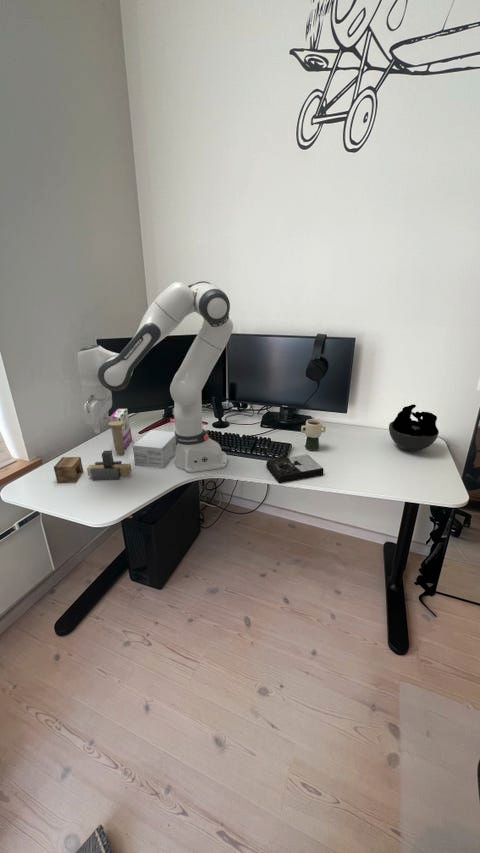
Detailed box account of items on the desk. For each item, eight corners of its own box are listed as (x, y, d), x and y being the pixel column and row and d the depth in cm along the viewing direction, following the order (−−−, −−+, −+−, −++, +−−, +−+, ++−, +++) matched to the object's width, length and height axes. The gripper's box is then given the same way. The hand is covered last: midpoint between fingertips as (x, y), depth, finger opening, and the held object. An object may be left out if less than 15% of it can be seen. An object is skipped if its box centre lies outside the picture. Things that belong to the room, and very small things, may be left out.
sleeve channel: (123, 472, 142) (121, 461, 140) (119, 479, 137) (117, 468, 135) (97, 472, 142) (95, 461, 140) (92, 480, 136) (90, 469, 134)
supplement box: (163, 468, 145) (161, 448, 141) (134, 465, 148) (131, 445, 144) (179, 450, 160) (177, 431, 156) (152, 447, 163) (150, 429, 159)
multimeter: (265, 468, 145) (266, 457, 143) (307, 461, 150) (308, 450, 148) (278, 484, 133) (279, 473, 131) (323, 476, 139) (324, 465, 137)
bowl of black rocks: (428, 463, 147) (438, 421, 139) (380, 450, 158) (386, 411, 151) (438, 446, 161) (447, 407, 154) (392, 435, 173) (399, 399, 165)
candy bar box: (122, 440, 170) (117, 408, 164) (132, 440, 170) (128, 408, 164) (114, 450, 160) (108, 417, 153) (125, 450, 160) (120, 417, 153)
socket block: (83, 472, 142) (80, 456, 140) (76, 482, 135) (72, 466, 132) (65, 472, 142) (62, 457, 139) (57, 483, 135) (53, 467, 132)
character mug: (322, 444, 164) (324, 418, 159) (325, 451, 157) (328, 425, 152) (298, 445, 164) (300, 419, 159) (301, 452, 157) (302, 425, 152)
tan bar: (131, 470, 140) (128, 449, 137) (130, 474, 138) (126, 453, 134) (90, 472, 140) (86, 451, 136) (88, 475, 137) (83, 454, 133)
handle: (125, 456, 154) (121, 425, 148) (111, 456, 155) (106, 425, 149) (129, 451, 159) (125, 421, 153) (115, 451, 159) (110, 420, 153)
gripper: (95, 400, 116) (101, 438, 122) (113, 383, 135) (117, 417, 140) (76, 401, 116) (83, 439, 121) (96, 384, 135) (101, 417, 140)
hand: (101, 427), depth 131 cm, fingers open, 8 cm apart
